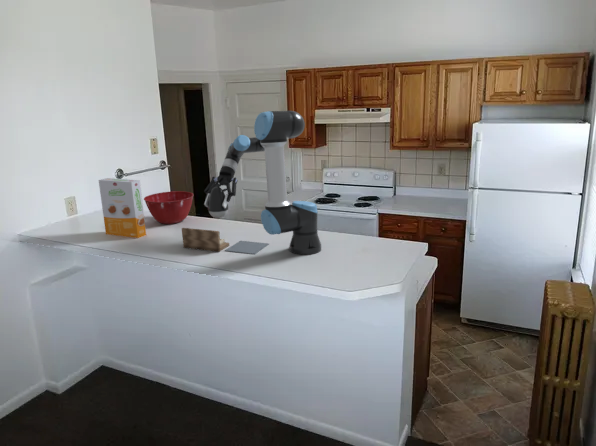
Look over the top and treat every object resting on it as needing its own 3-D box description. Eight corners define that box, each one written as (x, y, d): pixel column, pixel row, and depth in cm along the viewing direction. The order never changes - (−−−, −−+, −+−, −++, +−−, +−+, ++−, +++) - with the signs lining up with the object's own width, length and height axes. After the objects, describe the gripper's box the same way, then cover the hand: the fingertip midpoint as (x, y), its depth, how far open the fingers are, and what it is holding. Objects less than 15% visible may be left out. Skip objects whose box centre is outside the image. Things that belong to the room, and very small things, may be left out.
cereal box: (146, 235, 250) (139, 180, 242) (138, 238, 245) (131, 182, 237) (114, 231, 259) (107, 178, 251) (105, 234, 254) (98, 180, 246)
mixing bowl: (166, 230, 258) (164, 203, 254) (136, 223, 275) (133, 197, 271) (205, 219, 280) (203, 194, 276) (175, 213, 297) (172, 189, 292)
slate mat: (269, 244, 230) (269, 243, 230) (254, 254, 216) (254, 253, 216) (240, 241, 236) (240, 240, 236) (224, 251, 222) (224, 250, 221)
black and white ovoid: (225, 219, 228) (223, 188, 224) (205, 218, 230) (203, 188, 226) (232, 214, 238) (230, 184, 234) (212, 213, 240) (210, 184, 236)
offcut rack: (229, 245, 229) (228, 226, 227) (218, 251, 220) (217, 231, 218) (194, 241, 237) (193, 223, 234) (183, 247, 228) (181, 228, 225)
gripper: (250, 174, 239) (237, 211, 229) (212, 173, 247) (198, 208, 237) (245, 165, 233) (231, 203, 223) (206, 164, 241) (192, 200, 231)
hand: (214, 206), depth 230 cm, fingers closed on black and white ovoid, 10 cm apart
